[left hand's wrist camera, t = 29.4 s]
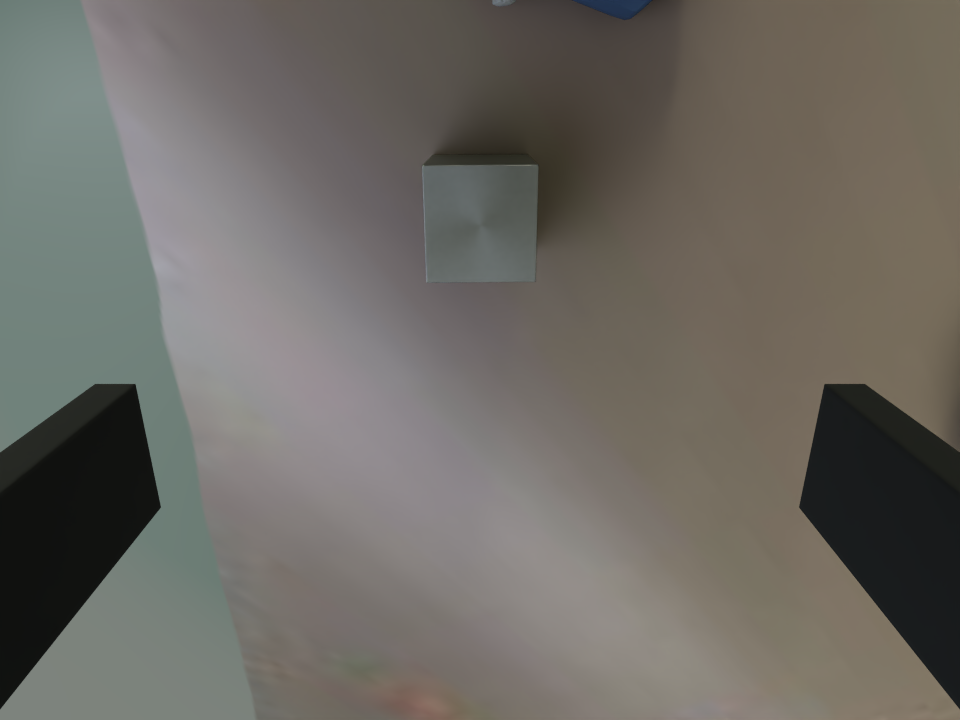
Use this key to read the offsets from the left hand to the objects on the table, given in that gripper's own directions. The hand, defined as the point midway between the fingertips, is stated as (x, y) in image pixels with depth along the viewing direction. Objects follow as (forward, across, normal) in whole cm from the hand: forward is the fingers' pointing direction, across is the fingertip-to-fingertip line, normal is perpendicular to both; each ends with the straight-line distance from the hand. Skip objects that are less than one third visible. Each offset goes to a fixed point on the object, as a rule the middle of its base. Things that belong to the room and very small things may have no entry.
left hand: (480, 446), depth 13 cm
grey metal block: (+33, 0, 0) cm, 33 cm away
